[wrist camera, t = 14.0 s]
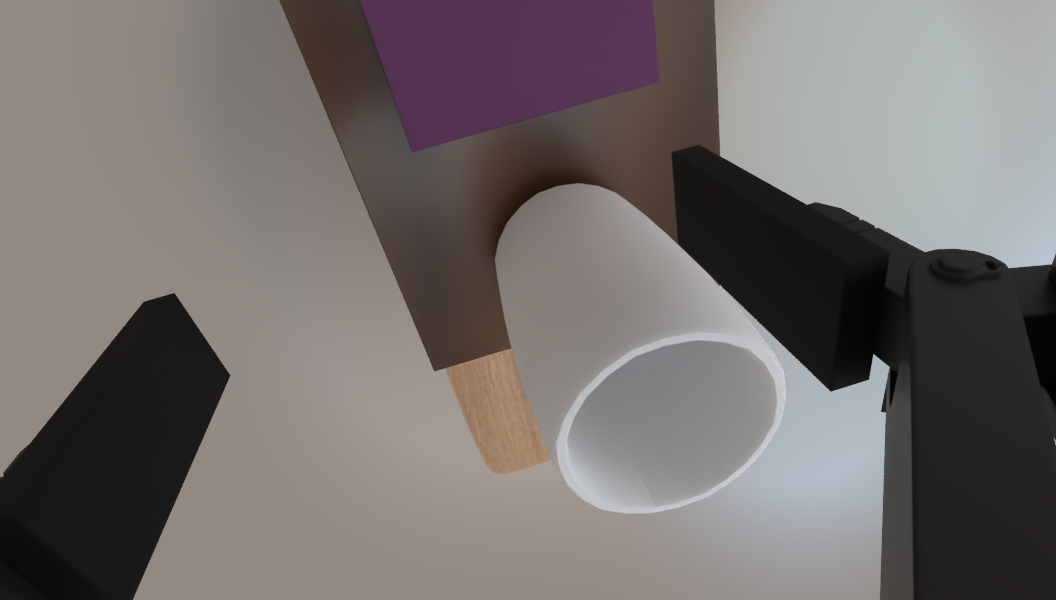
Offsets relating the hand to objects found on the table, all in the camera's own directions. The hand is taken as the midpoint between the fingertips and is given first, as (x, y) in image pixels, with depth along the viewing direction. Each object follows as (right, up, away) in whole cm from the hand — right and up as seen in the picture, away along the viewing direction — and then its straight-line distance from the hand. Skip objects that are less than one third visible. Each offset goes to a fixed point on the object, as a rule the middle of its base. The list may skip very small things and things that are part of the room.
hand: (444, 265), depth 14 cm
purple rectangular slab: (+2, +11, +9) cm, 14 cm away
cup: (+4, +2, +15) cm, 16 cm away
